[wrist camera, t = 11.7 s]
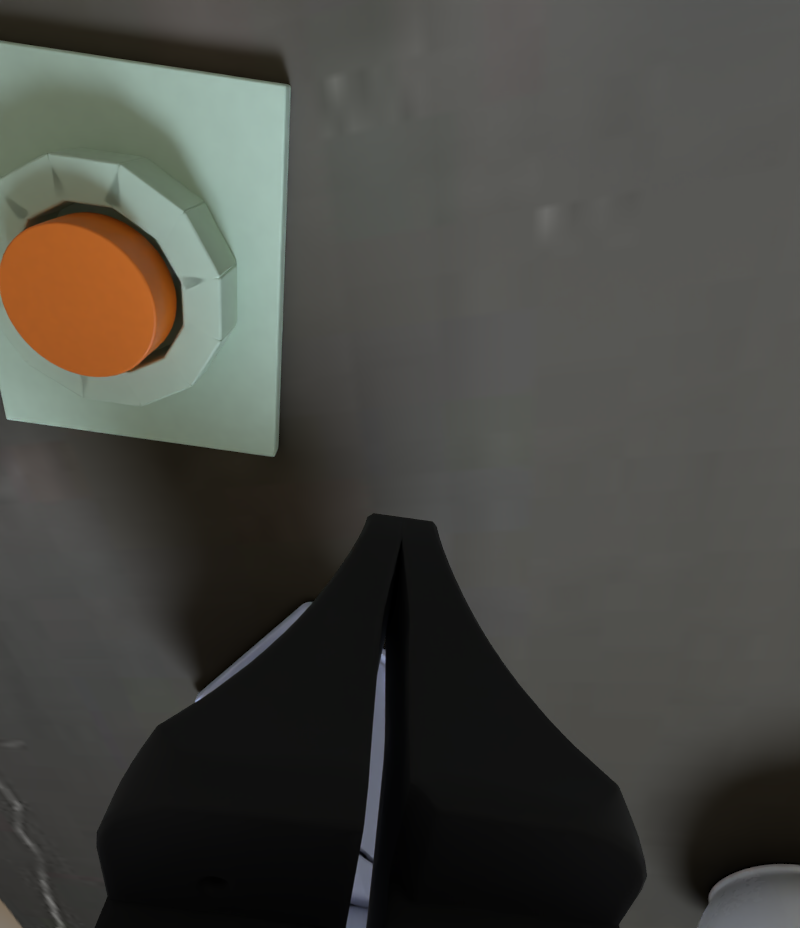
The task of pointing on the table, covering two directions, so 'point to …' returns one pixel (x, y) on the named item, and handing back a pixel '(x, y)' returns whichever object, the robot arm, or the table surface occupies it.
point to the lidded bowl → (755, 899)
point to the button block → (156, 236)
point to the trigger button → (88, 293)
